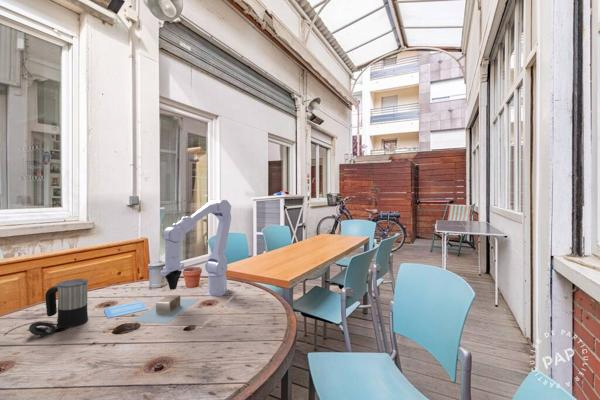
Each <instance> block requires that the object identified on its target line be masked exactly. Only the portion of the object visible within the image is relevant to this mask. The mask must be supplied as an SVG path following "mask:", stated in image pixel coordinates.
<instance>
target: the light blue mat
mask: <svg viewBox="0 0 600 400" xmlns="http://www.w3.org/2000/svg"><path fill="white" fill-rule="evenodd" d="M198 301H199V299H193V298H191V299H190V298H180V306H178V307H177V308H175V309H174V310H173V311H171V312H170V313H168V314H164V313H156V305H155V306H153V307H151V308H150V309H148V310H146V311H145V312H143V313H142V314H141V315H139V316H137V317H135V318H134V319H132V320H131V322H136V323H137V322H139V323H154V324H155V323H156V324H169V322H171V321H172V320H174V319H175V318H176V317H178V316H179V315H180V314H181V313H183V312H184V311H185V310H186V309H188V308H190V307H192V305H194V304H195V303H196V302H198Z"/></svg>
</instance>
